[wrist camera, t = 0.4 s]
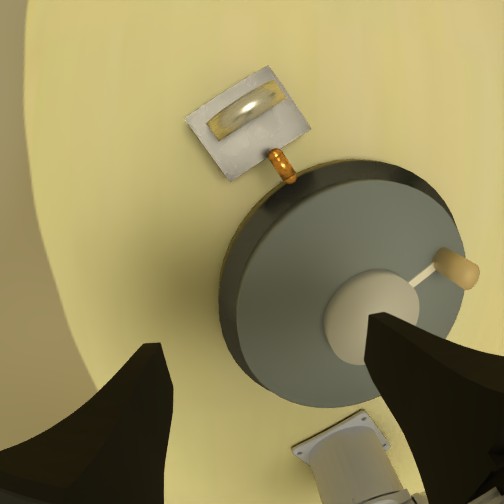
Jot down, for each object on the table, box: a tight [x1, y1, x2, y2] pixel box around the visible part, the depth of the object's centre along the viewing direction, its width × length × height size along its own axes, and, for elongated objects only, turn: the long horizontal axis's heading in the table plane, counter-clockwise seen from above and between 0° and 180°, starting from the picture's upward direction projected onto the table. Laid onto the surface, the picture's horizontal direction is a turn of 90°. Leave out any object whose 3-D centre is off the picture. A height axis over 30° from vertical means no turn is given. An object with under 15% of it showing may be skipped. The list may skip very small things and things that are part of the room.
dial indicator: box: [184, 66, 311, 184], centre depth 15 cm, size 6×5×6 cm
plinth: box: [219, 159, 457, 391], centre depth 21 cm, size 18×18×2 cm
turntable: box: [236, 178, 480, 408], centre depth 18 cm, size 16×16×4 cm
